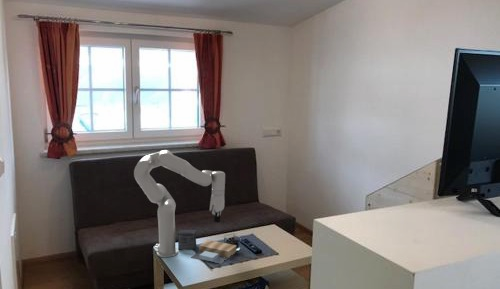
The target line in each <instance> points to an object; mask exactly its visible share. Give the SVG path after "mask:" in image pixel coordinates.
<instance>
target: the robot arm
mask: <svg viewBox="0 0 500 289" xmlns="http://www.w3.org/2000/svg"><path fill="white" fill-rule="evenodd" d="M160 166H161V167H163V168H165V169H167V170H170V171H172V172H174V173H177V174H179V175H180V176H182V177H185V179H187V180H189V181H191V182H193V183H195V184H197V185H199V186H202V187H208V186H210V185H211V196H210V201H209V212H211V215H212V216H213V221H214V223H217V224H219V223H220V222H221V215H222V211H224V209H225V203H226V202H225V190H226V186H225V184H226V173H225V172H224V171H221V170H214V171H213V170H210V169H209V170H208V169H204V170H199V169H197V168H196V167H194V166H193V165H192V164H190V162H188V161H187V160H185V159H183V158H181V157H178V156H177V155H174V154H173V152H171V151H170V150H168V149H163V150H160V151H157V152H153V153H151V154H148V155H147V154H146V155H145V156H143V157H142V158H141V159H140V160H139V161H138V162H137V164H136V165H135V167H134V169H133V177H134V179H135V181H136V183H137V184H138V185H139V187H140V188H141V189H142V191H143V193H144V195H146V197H147V199H148V200H149V201H150V202H151V203H153V204H157V205H158V208H157V221H158V222H157V223H158V243H156V244H155V245H154V249H156V250H157V251H156V256H158V257H159V258H171V257H175V256H176V255H177V254H178V253H179V250H178V248H176V221H175V218H176V217H175V211H176V205H177V204H176V202H175V200H174V198H173V197H172V195H171V194H170V192H169V191H168V190H167V188H166V187H165V186H164V185H163V184H161V183H157V181H156V180H155V179H154V178H153V177H152V175H151V174H150V172H151V171H152V170H153V169H155V168H158V167H160Z"/></svg>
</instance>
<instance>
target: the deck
mask: <svg viewBox="0 0 500 289" xmlns="http://www.w3.org/2000/svg"><path fill="white" fill-rule="evenodd" d="M199 251H200V252H204V251H208V252H212V253H217V254H218V256H223V257H228V259H229V258H231V257H232V256H233V255H234V254H236V253H237V245H236V244H230V243H226V242H222V241H221V242H220V241H216V240H210V239H207V240H205V241H204V242H203V243H200V244H199V246H198V252H199ZM235 252H236V253H235ZM231 255H232V256H231ZM230 256H231V257H230Z"/></svg>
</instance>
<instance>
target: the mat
mask: <svg viewBox="0 0 500 289" xmlns="http://www.w3.org/2000/svg"><path fill="white" fill-rule="evenodd" d="M201 253H202V252H200V251H199V250H198V251H197V252H196V253H195V254H193V255H192V256H191V257H190V258H191V259H195V260H200V261H203V260H202V259H200V257H199V255H200V254H201ZM219 257H220V258H219ZM218 258H219V264H218V265H222V264H224V263H225V261H224V260H226V261H227V260H228V259H229V258H228V257H225V258H224V257H223V256H218Z"/></svg>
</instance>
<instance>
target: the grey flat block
mask: <svg viewBox="0 0 500 289" xmlns="http://www.w3.org/2000/svg"><path fill="white" fill-rule="evenodd" d="M199 257H200V259H202V260H201V261H204V260H208V261H214V260H216V259H217V258H218V254H217V253H212V252H208V251H204V252H203V253H201V254H200V255H199ZM208 261H207V262H208Z"/></svg>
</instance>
